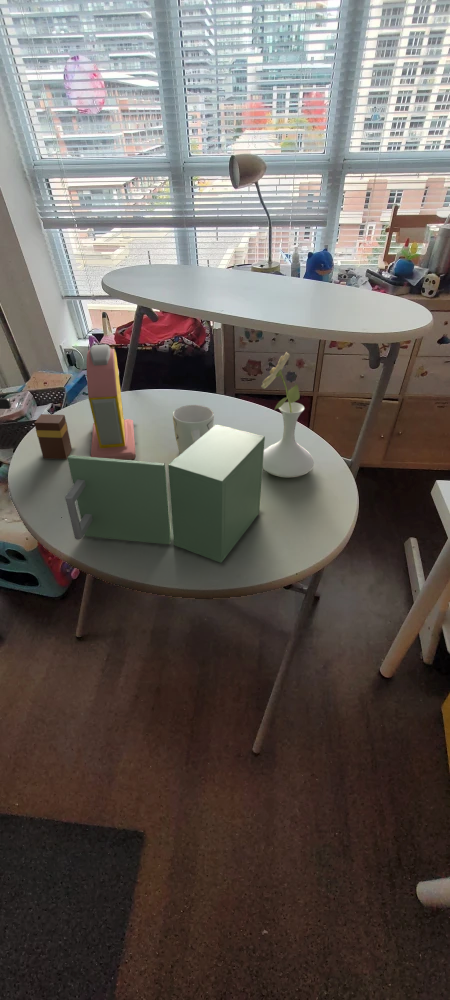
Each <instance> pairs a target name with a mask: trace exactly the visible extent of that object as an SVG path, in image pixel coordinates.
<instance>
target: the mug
mask: <svg viewBox="0 0 450 1000" xmlns="http://www.w3.org/2000/svg"><path fill="white" fill-rule="evenodd" d="M214 418H215V415H214V411H213V410H212V409H211V408H210V407H207V406H205V405H200V404H187V405H182V406H180V407H177V408H176V409H175V410H174V411H173V412H172V423H173V431H174V436H175V441H176V444H177V445H176V446H177V448H178V452H179V455H180V454H182V453H183V452H184V451H185V450H186V449H188V448H189V447H190V446H191V445H192V444H193V443H195V442H196V441H197V440H198V439H199V438H201V437H202V436H203V435H204V434H205V433H207V432H208V431H209V430H210V429H211V428H213V427H214V421H215V420H214Z"/></svg>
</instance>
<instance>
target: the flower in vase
mask: <svg viewBox="0 0 450 1000" xmlns="http://www.w3.org/2000/svg"><path fill="white" fill-rule="evenodd" d="M289 358H290V353H288V351H285V353H284V355H281V356H280V357H279V359H278V361H277V364H276V366H275V367H274V366H273V367H272V368H271V369H269V374H270V375H268V376H267V377H265V378H264V379H263V381H262V382H261V383H262V384H261V386H260V388H261V389H264V390H265V389H266V388H268V387H269V386H270V385H271V384H272V382H274V380H275V379H276V378H278V377H280V378H281V381H282V383H283V386H284V389H285V395H286V397H283V398H282V399H280V400H279V401H278V402H277V403H276V405H275V407H274V410H273V411H275V410H277V409H278V410H279V411H280V413H281V415H282V419H283V432H282V437H281V439H280V440H278V441H277V442H275V443H273V444H271V445H269V446H267V447H266V448H264V455H263V468H262V470H264V471H265V472H266V473H268V474H270V475H272V476H276V477H278V478H279V477H280V478H290V479H291V478H299V477H302V476H305V475H306V474H308V473H309V472H310V471H311V470H312V469H313V468H314V464H315V462H314V458H313V456H312V454H311V453H310V452H309V451H308V450H307V449H306V448H305V447H303V446H302V445H300V444H299V443H298V442H297V441H296V439H295V435H296V434H295V431H296V426H297V422H298V419H299V417H300V416H301V414H302V413H303V412H304V411H305V409H306V408H305V406H304V405H303V404H302V403H299V402H296V401H299V400H300V397H301V395H300V389H299V386H298V384H295V385H294V386H292V387H291V388H290V389H288V386H287V384H286V380H285V378H284V375H283V369H284V367H285V365H286V364H287V362H288V360H289Z"/></svg>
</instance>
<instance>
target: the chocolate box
mask: <svg viewBox="0 0 450 1000" xmlns="http://www.w3.org/2000/svg"><path fill="white" fill-rule="evenodd" d="M33 424H34V428H35V433H36V436H37V439H38V443H39V447H40V449H41V450H40V451H41V454H42V458H43V459H45V460H47V459H49V460H68V456H69V455H71V452H73V448H72V443H71V438H70V433H69V429H68V423H67V420H66V416H65V414H51V413H50V414H49V413H47V414H45V413H41V414H40V415H39V416H38V417H37V419H36V420H35V421H34V423H33Z"/></svg>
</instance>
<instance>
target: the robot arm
mask: <svg viewBox="0 0 450 1000" xmlns="http://www.w3.org/2000/svg"><path fill="white" fill-rule="evenodd" d="M11 408H12V402H11V400H10V398H7V397H0V410H10V409H11Z"/></svg>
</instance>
